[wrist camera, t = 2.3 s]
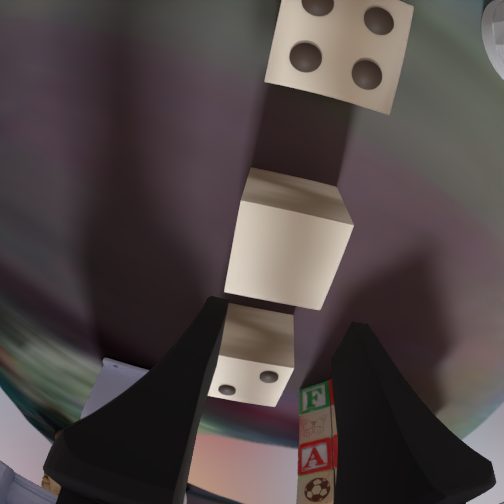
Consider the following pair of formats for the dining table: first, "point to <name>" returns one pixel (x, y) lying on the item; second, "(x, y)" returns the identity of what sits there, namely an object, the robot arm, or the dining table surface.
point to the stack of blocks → (317, 445)
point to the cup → (494, 34)
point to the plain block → (287, 239)
